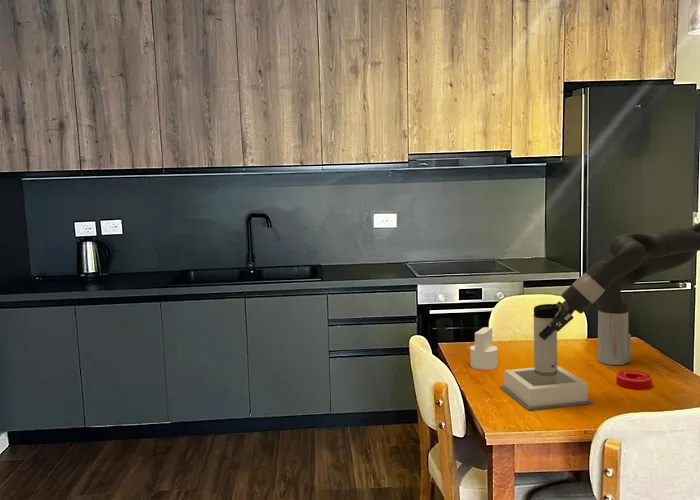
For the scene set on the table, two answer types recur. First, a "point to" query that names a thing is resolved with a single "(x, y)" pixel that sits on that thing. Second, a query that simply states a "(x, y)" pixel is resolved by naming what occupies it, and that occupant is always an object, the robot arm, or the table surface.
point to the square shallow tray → (545, 389)
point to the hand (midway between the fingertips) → (539, 334)
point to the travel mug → (544, 341)
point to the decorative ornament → (634, 380)
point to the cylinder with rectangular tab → (484, 351)
